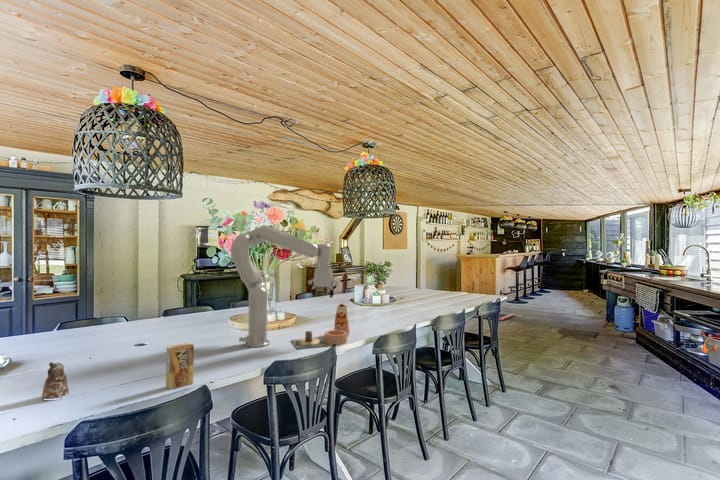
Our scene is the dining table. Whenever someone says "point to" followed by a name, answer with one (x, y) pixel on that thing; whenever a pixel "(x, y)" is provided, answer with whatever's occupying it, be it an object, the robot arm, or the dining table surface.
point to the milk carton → (342, 319)
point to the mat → (308, 346)
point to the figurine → (55, 382)
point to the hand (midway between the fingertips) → (322, 296)
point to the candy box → (179, 365)
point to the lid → (308, 340)
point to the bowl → (335, 337)
